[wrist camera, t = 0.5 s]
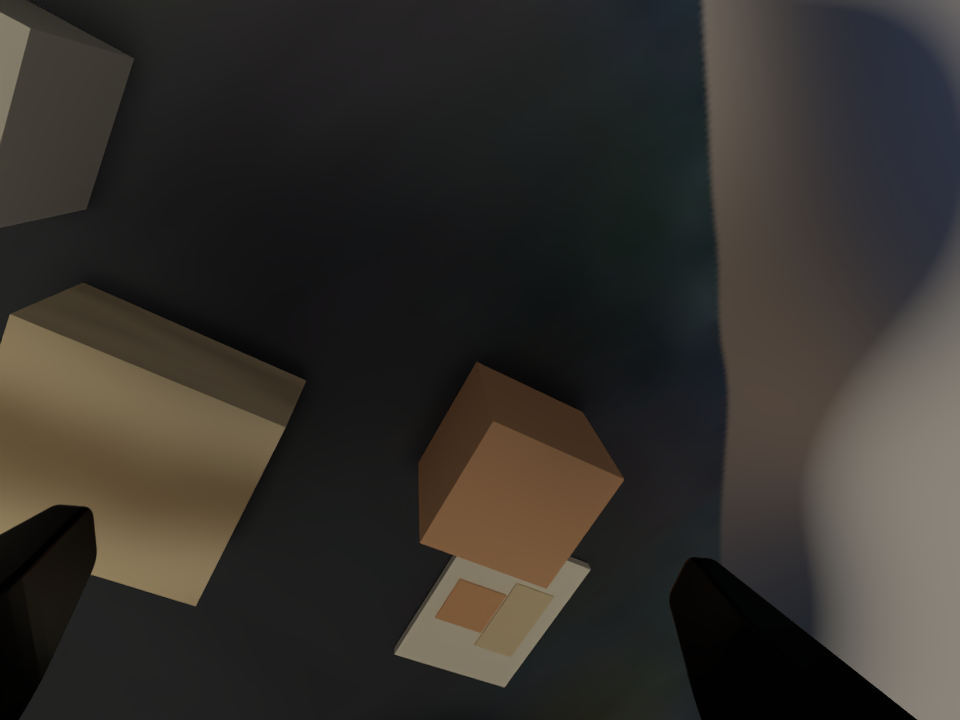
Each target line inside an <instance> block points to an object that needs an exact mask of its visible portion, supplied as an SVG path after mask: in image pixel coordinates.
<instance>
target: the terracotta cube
mask: <svg viewBox="0 0 960 720" xmlns="http://www.w3.org/2000/svg"><path fill="white" fill-rule="evenodd" d="M418 469H419V532H420V543H421V544H424V545H427V546H430V547H432V548H435V549H438V550H441V551H444V552H446V553H449V554H452V555H455V556H457V557H460V558H463V559H466V560H468V561H471V562H474V563H477V564H479V565H482V566H485V567H488V568H490V569H493V570H496V571H499V572H501V573H504V574H507V575H510V576H513V577H515V578H518V579H521V580H524V581H526V582H529V583H532V584H535V585H537V586H540V587H543V588H546V589H547V588H548V586H549V585H550V583H551V582H552V581H553V579H554V578H555V576H556V575H557V573H558V572H559V571H560V569H561V568H562V566H563V565H564V564H565V562H566V561H567V559H568V558H569V557H570V555H571V554H572V552H573V551H574V550H575V548H576V547H577V545H578V544H579V543H580V541H581V540H582V538H583V537H584V535H585V534H586V533H587V531H588V530H589V528H590V527H591V526H592V524H593V523H594V521H595V520H596V519H597V517H598V516H599V514H600V513H601V512H602V510H603V509H604V507H605V506H606V505H607V503H608V502H609V500H610V499H611V498H612V496H613V495H614V493H615V492H616V490H617V489H618V488H619V486H620V485H621V483H622V482H623V481H624V478H623V476H622V475H621V473H620V472H619V470H618V468H617V467H616V465H615V464H614V462H613V460H612V459H611V457H610V455H609V454H608V452H607V451H606V449H605V447H604V446H603V444H602V443H601V441H600V439H599V438H598V436H597V435H596V433H595V431H594V430H593V428H592V426H591V425H590V423H589V422H588V420H587V418H586V417H585V415H584V414H583V412H581V411H579V410H577V409H575V408H573V407H571V406H569V405H567V404H565V403H562V402H560V401H558V400H556V399H554V398H552V397H550V396H548V395H546V394H543V393H541V392H539V391H537V390H535V389H533V388H531V387H529V386H527V385H525V384H522V383H520V382H518V381H516V380H514V379H512V378H510V377H508V376H506V375H503V374H501V373H499V372H497V371H495V370H493V369H491V368H489V367H487V366H484V365H482V364H480V363H478V362H476V364H475V365H474V367H473V369H472V370H471V372H470V374H469V376H468V377H467V379H466V381H465V383H464V384H463V386H462V388H461V390H460V391H459V393H458V395H457V397H456V398H455V400H454V402H453V404H452V405H451V407H450V409H449V410H448V412H447V414H446V416H445V417H444V419H443V421H442V423H441V424H440V426H439V428H438V430H437V431H436V433H435V435H434V437H433V438H432V440H431V442H430V444H429V445H428V447H427V449H426V450H425V452H424V454H423V456H422V457H421V459H420V461H419V463H418Z"/></svg>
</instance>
